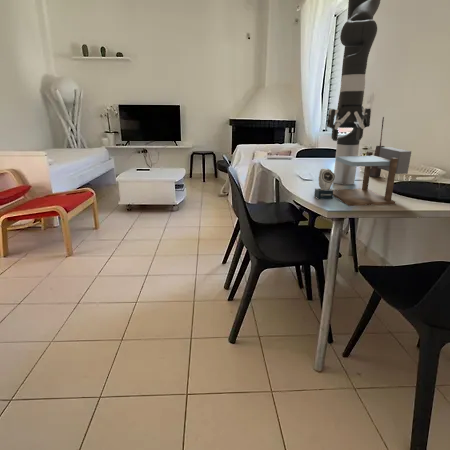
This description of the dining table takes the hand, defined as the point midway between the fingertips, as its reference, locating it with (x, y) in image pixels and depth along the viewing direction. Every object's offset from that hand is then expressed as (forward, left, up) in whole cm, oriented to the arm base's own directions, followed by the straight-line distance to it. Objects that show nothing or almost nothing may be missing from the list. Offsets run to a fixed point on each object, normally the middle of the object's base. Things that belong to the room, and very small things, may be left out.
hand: (346, 140), depth 114 cm
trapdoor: (-3, +11, -12) cm, 16 cm away
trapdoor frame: (-3, +8, -22) cm, 23 cm away
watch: (-4, -5, -22) cm, 23 cm away
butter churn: (-40, +35, -22) cm, 58 cm away
